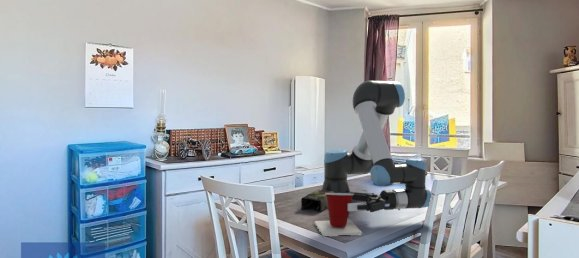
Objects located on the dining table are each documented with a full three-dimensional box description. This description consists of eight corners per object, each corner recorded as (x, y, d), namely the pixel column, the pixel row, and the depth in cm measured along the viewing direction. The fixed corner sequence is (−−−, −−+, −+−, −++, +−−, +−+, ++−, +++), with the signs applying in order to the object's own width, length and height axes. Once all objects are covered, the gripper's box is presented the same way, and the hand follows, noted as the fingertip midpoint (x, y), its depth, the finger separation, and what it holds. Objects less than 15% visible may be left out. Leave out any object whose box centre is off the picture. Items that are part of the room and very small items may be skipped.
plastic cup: (332, 221, 135) (334, 190, 136) (357, 226, 128) (359, 193, 129) (316, 224, 126) (319, 190, 127) (343, 229, 119) (345, 194, 121)
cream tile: (314, 223, 133) (314, 221, 133) (349, 222, 135) (349, 219, 135) (322, 236, 120) (322, 233, 120) (361, 235, 121) (361, 232, 121)
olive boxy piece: (316, 199, 170) (316, 187, 170) (335, 202, 166) (336, 189, 165) (300, 211, 152) (300, 197, 152) (321, 214, 148) (321, 200, 147)
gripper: (410, 218, 123) (353, 222, 118) (377, 200, 147) (330, 203, 143) (410, 198, 122) (354, 201, 118) (378, 183, 147) (330, 185, 142)
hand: (341, 202), depth 130 cm, fingers open, 13 cm apart
